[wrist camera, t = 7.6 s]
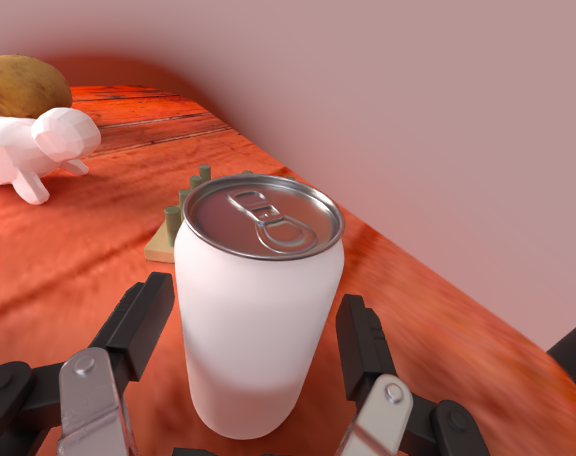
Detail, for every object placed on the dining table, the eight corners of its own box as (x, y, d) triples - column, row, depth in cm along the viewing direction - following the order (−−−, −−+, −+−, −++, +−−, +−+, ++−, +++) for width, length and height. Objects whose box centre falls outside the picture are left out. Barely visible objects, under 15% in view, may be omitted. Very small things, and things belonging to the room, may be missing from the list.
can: (219, 476, 12) (219, 305, 6) (174, 360, 16) (145, 180, 10) (321, 395, 16) (395, 232, 9) (264, 316, 20) (287, 163, 13)
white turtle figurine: (-33, 222, 28) (97, 190, 26) (-121, 143, 23) (31, 97, 21) (30, 187, 35) (135, 159, 33) (-28, 120, 30) (92, 85, 28)
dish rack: (302, 211, 34) (309, 176, 31) (306, 278, 24) (316, 236, 21) (190, 196, 33) (187, 159, 30) (145, 260, 23) (136, 213, 20)
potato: (-28, 128, 40) (-68, 48, 35) (36, 111, 50) (14, 48, 45) (44, 138, 41) (17, 62, 35) (93, 119, 51) (78, 58, 46)
